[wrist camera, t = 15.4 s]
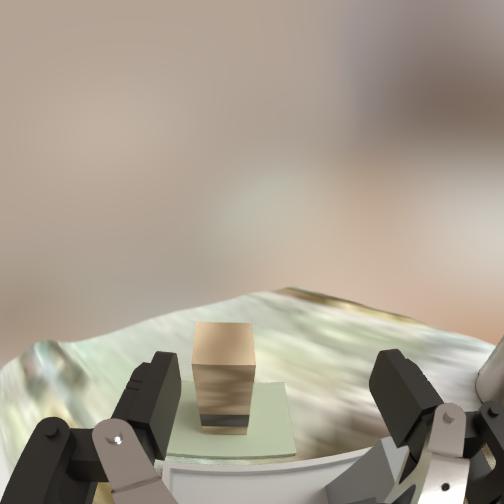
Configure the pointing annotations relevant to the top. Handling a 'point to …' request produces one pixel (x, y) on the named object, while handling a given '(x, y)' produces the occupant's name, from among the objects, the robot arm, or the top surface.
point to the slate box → (369, 475)
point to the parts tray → (256, 481)
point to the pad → (235, 446)
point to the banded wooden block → (224, 376)
